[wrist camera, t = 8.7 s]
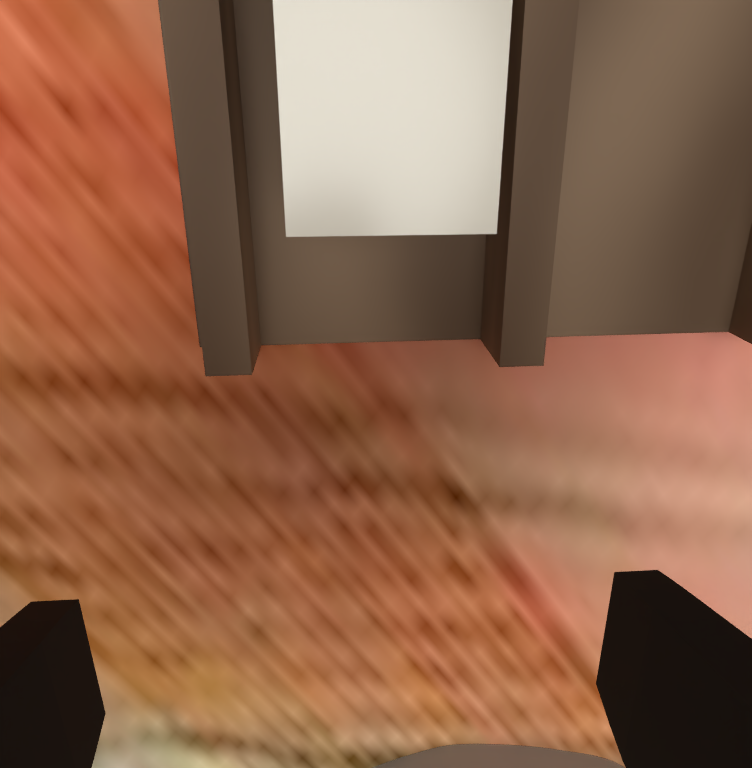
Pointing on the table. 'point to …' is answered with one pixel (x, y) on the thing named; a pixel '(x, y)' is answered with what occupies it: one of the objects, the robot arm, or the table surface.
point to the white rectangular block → (391, 115)
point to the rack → (516, 198)
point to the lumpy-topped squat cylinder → (498, 758)
